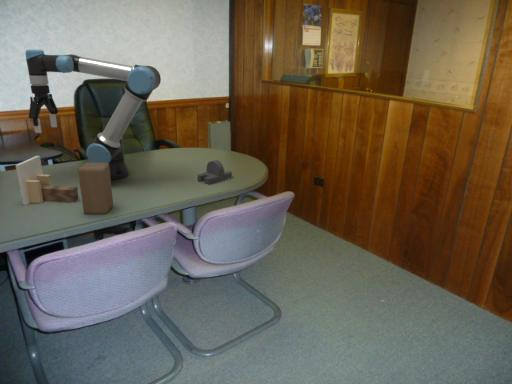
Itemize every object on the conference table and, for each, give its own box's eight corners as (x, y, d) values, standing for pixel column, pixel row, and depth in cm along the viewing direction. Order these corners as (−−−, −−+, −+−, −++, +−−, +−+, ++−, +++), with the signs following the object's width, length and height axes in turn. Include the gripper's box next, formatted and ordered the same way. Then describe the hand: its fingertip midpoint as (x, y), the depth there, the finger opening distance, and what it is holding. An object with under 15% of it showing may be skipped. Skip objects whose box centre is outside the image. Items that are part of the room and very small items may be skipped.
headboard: (56, 193, 180) (50, 156, 173) (37, 205, 166) (30, 165, 159) (42, 192, 180) (36, 155, 174) (23, 204, 166) (15, 165, 159)
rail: (78, 199, 174) (77, 186, 172) (74, 202, 170) (72, 189, 168) (40, 197, 175) (38, 183, 172) (34, 200, 171) (32, 187, 168)
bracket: (232, 178, 212) (233, 159, 208) (209, 185, 199) (208, 165, 195) (220, 174, 218) (220, 156, 214) (196, 181, 205) (196, 161, 201)
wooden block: (90, 205, 168) (85, 161, 161) (113, 205, 169) (109, 162, 162) (83, 214, 159) (76, 168, 152) (107, 214, 160) (102, 169, 153)
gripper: (46, 82, 189) (53, 124, 197) (14, 86, 166) (23, 134, 173) (61, 82, 189) (67, 125, 197) (31, 87, 166) (39, 135, 173)
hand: (46, 129), depth 185 cm, fingers open, 13 cm apart
